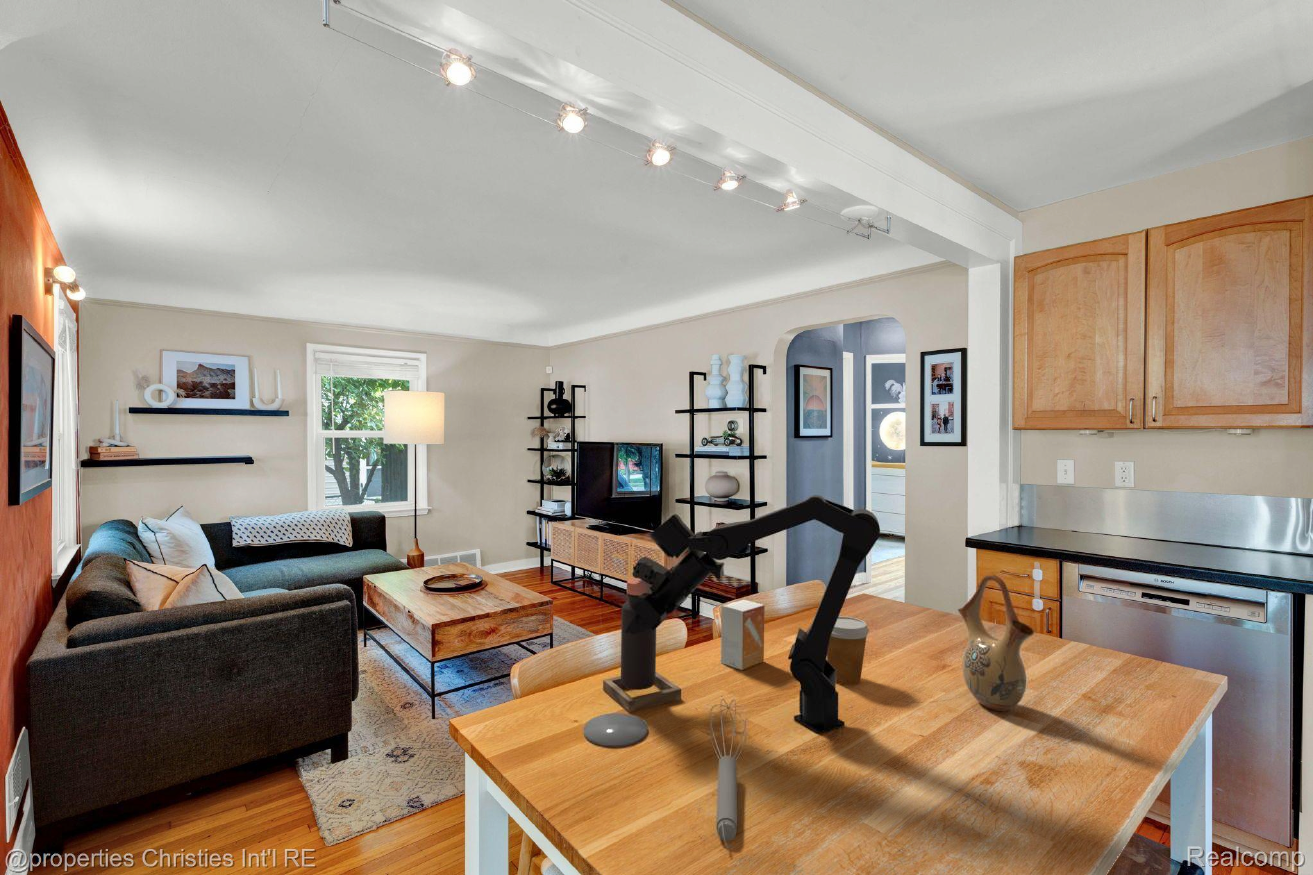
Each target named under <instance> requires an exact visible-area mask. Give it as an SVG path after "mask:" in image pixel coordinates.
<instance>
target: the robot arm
mask: <svg viewBox="0 0 1313 875" xmlns="http://www.w3.org/2000/svg"><path fill="white" fill-rule="evenodd" d="M814 520H815V521H817V522H820V523H821V524H823V525H825V526H827V527H828V528H831V529H832V530H835V531H836V532H838V533H841V534H842V538H841V543H840V548H839V553H838V557H837V560H836V562H835V564H834V566H833V569H832V572H831V575H830V577H829V579H828V581H827V585H826V587H825V589H824V592H823V595H822V598H821V600H820V601H819V605H818V607H817V609H816V612H815V615H814V617H813V620H812V622H811V624H810V626H808V629H806V631H805V630H803V629H802V628H800V627H799V628H798V630H797V633H796V637H795V641H794V643H793V644H792V645H791V647H790V651H789V654H788V657H787V659H788V660H791V661H790V664H789V671H790V672H791V675H792V677H793V678H794V679H795V681H797V682H798V683H799V684H800V690H799V700H798V702H799V706H798V707H799V712H798V713H800V714H796V715H793V719H794V720H795V721H796V722H798V723H800V724H801V725H803V726H805V727H806V728H808V729H810V730H812V731H813V732H815V733H816V734H823V733H825V732H829V731H832V730H836V729H838V728H842V727H844V726H845V725H846V722H845V721H843V720H842V719H840V718H839V692H838V691H837V689H836V688H837V683H836V676H837V670H836V669H835V668H834V667H833V666H832V665H831V664H830V663H829V662H828V661H827V651H828V646H829V640H830V636H831V634H832V631H833V629H834V626H835V624H836V621H837V619H838V616H840V614H841V611H842V609H843V606H844V604H845V602H846V598H847V596H848V594H849V592H850V589H851V586H852V584H853V581H854V580H855V576H856V575H857V571H858V570H859V567H860V566H861V564H862V563H863V561H864V560H865V558H866V557H868V555H869V554H870V552H871V550H872V549H873V547H874V546H875V544H876V542H877V541H878V539H879V537H880V533H881V529H880V523H879V520H878V517H877V516H876V514H874V513H873V512H871V511H870V510H868V509H865V508H864V509H863V508H860V509H853V508H851V507H848V506H845V505H842V504H840V503H837V502H834V501H831V500H829V499H826V498H824V497H823V496H821V495H818V494H814V495H810V496H809V497H807V498H806V499H803V500H800V501H799V502H795V503H792V504H790V505H788V506H786V507H782V508H780V509H777V510H773V511H771V512H769V513H766V514H764V515H761V516H758V517H756V518H753V519H747V520H743V521H735V522H730V523H729V522H728V523H724V524H719V525H718V526H716V527H714V528H713V529H711V530H707V531H698V532H696V533H694V532H693V531H692V529H690V527H688V525H687V524H686V523H684V521H683V520H682V518H681V517H680V515H678V514H677V513H674V514H672V515H671V516H670V517H669V518H668V519H667V520H665V521H664V522H663V523H662V524H660V525H658V526H657V527H656V528H655V529H654V530H653V531H652V533H651V534H650V535H649V539H651V540H652V541H653V542H654V544H655V545H656V546H657V547H658V548H659V549H660V550H661V551H662V553H663V554H665V556H666V557H667V558H668V559H670V558H671V559H673V558H674V557H675V559H679V558H680V557H681V556H682V555H683V554H685V552H686V551H688V550H689V552H688V553H686V555H685V556H684V557H682V558H681V559H680V560H679V562H678V563H677V564H675V566H674V565H673V566H672V567H671V568H670V569H669V568H666V567H665V566H664V565H662V564H660V563H659V562H657V561H655V560H653V559H651V558H650V557H647V556H643V557H642V556H641V557H640V558H639V559H637V562H636V564H635V565H634V566H633V567H632V569H633V570H632V573H631V575H632V577H634V579H635V578H639V579H641V580H643V581H645V582H646V583H648V584H650V585H652V586H651V587H650V588H649V589H650V590H651V591H652V593H651V594H652V595H651V594H650V593H643V594H642V595H640V596H639V597H638V598H637V599H636V600H635V601H634V602H633V603H632V604H631V606H632V608H633V609H634V610H635V611H636V614H635V616H634V617H633V619H632V621H631V622H630V624H629V626H628V627H627V629H626V630H625V633H626V634H627V632H629V633H632V634H636V633H639V632H642V631H645V630H648V629H652V630H655V629H656V630H657V629H658V627H659V626H661V624H663V623H664V621H665V620H667V615H670V614H672V613H673V612H674V611H675V610H676V608H679V607H680V606H681V605H682V604H683V603H684V602H685V601H686V600H687V599H688V597H689V596H690V595H691V594H692V593H693V592H694V591H695V590H696V589H697V588H698V587H699V586H700V585H701V584H702V583H703V582H704V581H705V580H706V579H707V578H708V577H709V576H711V575H713V577H715V578H716V580H721V578H723V577H724V575H725V570H724V566H725V563H724V562H723V561H724V560H726V559H727V558H729V557H732V556H733V555H735V554H736V553H738V552H740V551H741V550H744V549H745V548H746V547H748V546H749V545H750V544H752V543H754V542H756V541H759V540H761V539H764V538H766V537H767V538H768V537H770V536H773V535H775V534H777V533H781V532H784V531H786V530H788V529H791V528H794V527H797V526H799V525H803V524H805V523H808V522H810V521H814ZM722 560H723V561H722ZM718 561H719V562H718ZM720 561H721V562H720Z"/></svg>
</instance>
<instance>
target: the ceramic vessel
mask: <svg viewBox="0 0 1313 875" xmlns="http://www.w3.org/2000/svg"><path fill="white" fill-rule="evenodd" d="M989 581H992V582H995V583H996V584H997V585H998V586H999V589H1000V591H1001V594H1002V598H1003V602H1004V608H1005V609H1004V610H1005V618H1006V621H1005V623H1006V624H1005V631H1004V635H1003V637H1002V638H1001V639H998V638H995V637H993V636H992V635H991V634H989V632H988V631H987V630H986V627H985V626H984V624H983V621H982V618H981V608H982V602H983V598H984V593H985V590H986V587H987V584H988V583H989ZM957 611H958V613H959V614H960V616H961V617H962V619H963V621H964V623H965V624H966V628H967V631H968V632H967V634H968V643H967V645H966V648H965V649H964V653H963V655H962V661H961V662H962V664H961V666H962V676H963V679H964V681H965V684H966V688H968V690H969V692H970V693H971V695H972V696H973V698H974V699H975V700H976V701H978V703H979V704H980V705H982V706H983V707H985V708H987V709H990V710H993V711H997V712H1006V711H1009V710H1011V709H1014V708H1015V707H1016V706H1017V705H1018V704H1019V703H1020V702H1021V700H1022V699H1023V697H1024V695H1025V693H1026V688H1027V673H1026V668H1025V665H1024V662H1023V660H1022V657H1021V654H1020V652H1021V648H1022V645H1023V643H1024V642H1025V641H1026V640H1028V639H1029V638H1031V637H1032V636H1033V635H1034V633H1035V632H1034V629H1033V628H1032V627H1031V626H1029V625H1028V624H1026V623H1025V622H1022V621H1020V620H1019V618H1018V615H1017V614H1016V611H1015V609H1014V606H1013V603H1012V600H1011V596H1010V592H1009V589H1008V587H1007V584H1006V583H1005V581H1004V580H1003V579H1002V578H1001V577H999V576H998V575H996V574H987V575H985V576H983V577H982V579H981V580H980V583H979V585H978V587H977V589H976V591H975V592H974V594H973V595H972V597H971V598H970V599H969V601H967V602H966V603H965V604H964V606H962V607H959V608H958V609H957Z"/></svg>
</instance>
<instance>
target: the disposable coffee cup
mask: <svg viewBox="0 0 1313 875" xmlns="http://www.w3.org/2000/svg"><path fill="white" fill-rule="evenodd" d="M869 633H870V630H869V628H868V625H867V622H866V621H864V620H862V619H859V618H856V617H851V616H845V615H844V616H842V615H841V616H840V615H839V616H838V619H837V621H836V624H835V626H834V629H833V631H832V634H831V636H830V640H829V646H828V651H827V657H826V660H827V661H828V662H829V663H830V664H831V665H832V666H833V667H834V668H835V669H836V670H837V676H836V684H839V685H847V686H849V685H851V686H853V685H858V684H859V683H860V682H861V678H862V672H863V666H864V665H863V664H864V657H865V650H866V642H867V637H868V634H869Z"/></svg>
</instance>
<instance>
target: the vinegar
mask: <svg viewBox="0 0 1313 875" xmlns="http://www.w3.org/2000/svg"><path fill="white" fill-rule="evenodd" d="M651 586H652V585H650V584H648V583H646V582H645V581H643V580H641V579H639V578H635V577H634V578H629V579H627V581H626V595H627V598H628V599H627V600H626V601H625V602H624V603H623V605H622V606H621V626H620V627H621V628H620V632H621V633H620V639H621V640H620V642H621V643H620V676H621V684H622V685H623V686H624V687H626V689H629V690H636V691H640V690H641V691H643V690H647V689H651V687H653V686H655V685H654V684H655V678H656V672H657V671H656V670H657V669H656V668H657V667H656V666H657V665H656V664H657V663H656V662H657V658H656V656H657V628H656V629H655V630H652V629H648V630H645V631H642V632H639V633H636V634H632V633H629V632H627V634H626V633H625V630H626V629H627V627H628V626H629V624H630V622H631V621H632V619H633V617H634V616H635V614H636V611H635V610H634V609H633V608H632V606H631V604H632V603H633V602H634V601H635V600H636V599H637V598H638V597H639V596H640V595H642V594H643V593H650V594H651V593H652V591H651V590H650V589H649V588H650V587H651ZM651 595H652V594H651Z"/></svg>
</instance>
